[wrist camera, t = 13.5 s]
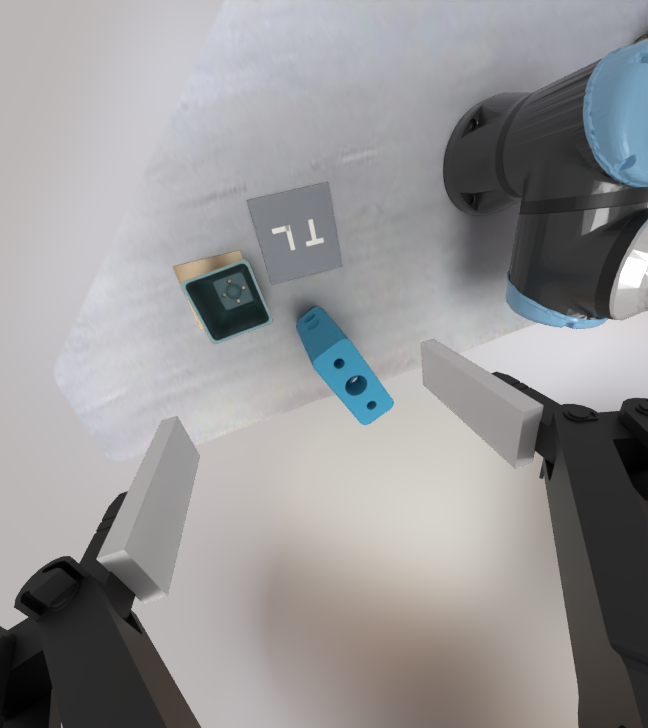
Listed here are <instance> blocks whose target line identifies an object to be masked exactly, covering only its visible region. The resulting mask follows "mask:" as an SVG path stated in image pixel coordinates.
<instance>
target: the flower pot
mask: <svg viewBox="0 0 648 728" xmlns="http://www.w3.org/2000/svg"><path fill="white" fill-rule="evenodd" d="M228 280H231V283H228ZM242 286H245V289H242ZM181 288H182V290H183V292H184V293H185V295H186V297H187V299H188V301H189V302H190V304H191V306H192V307H193V309H194V311H195V313H196V315H197V317H198V318H199V320H200V322H201V324H202V326H203V328H204V329H205V331H206V333H207V335H208V337H209V339H210V340H211V342H212V343H213V344H218V343H221V342H223V341H226V340H228V339H231V338H234V337H236V336H239V335H241V334H244V333H247V332H249V331H252V330H255V329H257V328H260V327H263V326H266V325H268V324H271V323H272V322H273V318H272V316H271V314H270V312H269V309H268V307H267V305H266V302H265V300H264V298H263V296H262V293H261V291H260V288H259V286H258V283H257V281H256V279H255V276H254V274H253V271H252V269H251V266H250V263H249V262H248V260H246V259H243V260H240V261H237V262H235V263H232V264H229V265H227V266H224V267H221V268H218V269H216V270H213V271H210V272H208V273H205V274H202V275H199V276H197V277H194V278H191V279H188V280H185V281H183V282H181ZM223 293H225V294H226V296H225V297H224V296H223ZM238 299H239V300H240V302H239V303H238V302H237V300H238Z"/></svg>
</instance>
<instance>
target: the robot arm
mask: <svg viewBox="0 0 648 728" xmlns="http://www.w3.org/2000/svg"><path fill="white" fill-rule="evenodd" d="M444 180H445V185H446V189H447V192H448V195H449V197H450V199H451V200H452V202H453V203H454V204H455V206H456V207H457V208H459V209H460V210H461V211H463V212H465V213H467V214H471V215H485V214H492V213H496V212H499V211H501V210H503V209H505V208H507V207H509V206H511V205H513V204H514V203H516V202H518V201H520V200H521V207H520V213H519V217H518V223H517V229H516V235H515V241H514V246H513V252H512V258H511V264H510V270H509V271H508V273H507V282H508V284H507V292H506V300H507V303H508V304H509V306H510V308H511V309H512V310H513V311H514V312H515V313H517V314H518V315H520V316H522V317H524V318H526V319H529V320H531V321H534V322H537V323H541V324H545V325H549V326H554V327H563V326H567V327H570V328H572V329H585V328H593V327H596V326H599V325H601V324H603V323H604V322H605V321H606V320H608V319H614V320H624V319H627V318H629V317H631V316H634V315H636V314H639V313H641V312H644V311H648V208H647V204H648V38H647V39H645V40H643V41H640V42H638V43H636V44H633V45H628V46H624V47H621V48H619V49H617V50H615V51H613V52H611V53H609V54H608V55H607V56H605V57H604V58H602V59H600V60H598V61H596V62H594V63H592V64H590V65H588V66H586V67H584V68H582V69H580V70H578V71H576V72H574V73H572V74H570V75H568V76H566V77H564V78H562V79H560V80H558V81H556V82H554V83H552V84H550V85H548V86H546V87H544V88H541V89H540V90H538V91H535V92H533V93H502V94H498V95H495V96H492V97H490V98H488V99H486V100H485V101H483V102H481V103H479V104H477V105H476V106H474V107H473V108H472V109H471V110H470V111H468V112H467V113H466V114H465V116H464V117H463V118H462V119H461V120H460V122H459V123H458V125H457V126H456V128H455V130H454V132H453V134H452V136H451V138H450V141H449V144H448V147H447V150H446V155H445V161H444ZM421 354H422V373H423V385H424V386H425V387H426V388H427V389H428V390H429V391H431V392H432V393H433V394H434V395H435V396H436V397H437V398H438V399H439V400H441V401H442V402H443V403H444V404H445V405H446V406H447V407H448V408H449V409H450V410H451V411H452V412H453V413H455V414H456V415H457V416H458V417H459V418H460V419H461V420H462V421H463V422H464V423H466V424H467V425H468V426H469V427H470V428H471V429H472V430H473V431H474V432H475V433H476V434H478V435H479V436H480V437H481V438H482V439H483V440H484V441H485V442H486V443H488V444H489V445H490V446H491V447H492V448H493V449H494V450H495V451H496V452H497V453H498V454H500V455H501V456H502V457H503V458H504V459H505V460H506V461H507V462H508V463H509V464H510V465H511V466H513V467H514V468H515V469H516V468H519V467H521V466H524V465H527V464H530V463H532V462H533V458H534V453H535V451H536V452H538V453H539V454H540V455H541V456H542V457H544V458H543V463H542V468H541V472H540V478H541V479H543V477H545V484H546V490H547V496H548V502H549V508H550V515H551V521H552V527H553V533H554V540H555V546H556V552H557V558H558V564H559V570H560V576H561V583H562V589H563V596H564V601H565V608H566V613H567V620H568V626H569V633H570V639H571V645H572V651H573V657H574V664H575V670H576V676H577V683H578V693H579V704H578V726H579V728H648V399H646V398H632V399H627V400H625V401H623V404H622V407H621V409H620V411H613V412H600V413H597V412H596V411H594V410H593V409H590V408H588V407H585V406H581V405H576V404H563V405H560V404H558V403H557V402H555V401H553V400H551V399H550V398H548V397H546V396H545V395H543V394H541V393H539V392H537V391H536V390H534V389H532V388H529V387H528V386H527V385H525V384H524V383H520V381H518V380H517V379H515V378H513V377H511V376H509V375H506V374H502V373H499V372H494V373H489V372H488V371H486V370H484V369H482V368H481V367H479V366H478V365H476V364H474V363H473V362H471V361H469V360H468V359H466V358H465V357H463V356H461V355H460V354H458V353H456V352H455V351H453V350H451V349H450V348H448V347H446V346H445V345H443V344H442V343H440V342H438V341H437V340H435V339H431V340H428V341H425V342H421ZM199 458H200V455H199V453H198V451H197V449H196V448H195V446H194V444H193V442H192V441H191V439H190V437H189V435H188V434H187V432H186V430H185V428H184V427H183V425H182V423H181V421H180V420H179V418H178V416H175V417H172V418H169V419H165V420H162V421H161V423H160V425H159V427H158V429H157V431H156V433H155V436H154V438H153V440H152V442H151V444H150V446H149V448H148V450H147V453H146V455H145V457H144V459H143V461H142V463H141V465H140V467H139V469H138V472H137V474H136V476H135V478H134V480H133V482H132V484H131V486H130V489H129V491H127V492H124V493H121V494H119V495H118V497H117V498H116V499H115V500H114V501H113V502H112V504H111V505H110V506H109V507H108V509H107V511H106V513H105V515H104V517H103V519H102V522H101V523H100V525H99V527H98V529H97V533H96V534H94V536H93V538H92V540H91V542H90V544H89V546H88V548H87V550H86V552H85V554H84V556H83V558H82V560H81V561H80V563H77V562H76V561H75V560H74V559H73V558H71V557H70V556H64V557H60V558H58V559H55V560H53V561H51V562H50V563H48V564H47V565H45V566H44V567H42V568H41V569H40V570H38V571H37V572H36V573H35V574H34V575H33V576H32V577H31V578H30V579H29V580H28V581H27V582H26V584H25V585H24V586H23V587H22V588H21V590H20V592H19V594H18V595H17V597H16V600H15V606H14V608H16V609H18V610H20V611H21V612H22V613H24V614H25V615H27V616H28V618H27V619H25V620H24V621H22V622H20V623H19V624H17V625H16V626H14V627H12V628H11V629H9V630H6V629H4V628H2V627H1V626H0V728H61V722H62V726H63V728H201V726H200V725H199V723H198V721H197V720H196V718H195V716H194V714H193V713H192V711H191V709H190V708H189V706H188V704H187V702H186V701H185V699H184V697H183V695H182V694H181V692H180V690H179V688H178V687H177V685H176V684H175V681H174V680H173V678H172V677H171V674H170V673H169V671H168V669H167V667H166V666H165V664H164V662H163V661H162V659H161V657H160V655H159V654H158V652H157V650H156V648H155V647H154V645H153V643H152V642H151V640H150V638H149V636H148V635H147V633H146V631H145V629H144V628H143V626H142V624H141V622H140V621H139V619H138V617H137V615H136V614H135V613H134V612H133V611H132V610H131V608H132V605H133V601H134V598H135V596H136V597H137V598H138V599H139V600H140V601H141V602H142V603H143V604H147V603H150V602H152V601H155V600H158V599H161V598H163V597H166V596H168V593H169V588H170V584H171V579H172V575H173V571H174V567H175V562H176V558H177V553H178V549H179V545H180V541H181V536H182V532H183V527H184V523H185V519H186V514H187V510H188V506H189V501H190V497H191V493H192V488H193V484H194V480H195V475H196V471H197V467H198V462H199Z"/></svg>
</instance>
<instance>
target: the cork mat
mask: <svg viewBox="0 0 648 728" xmlns="http://www.w3.org/2000/svg"><path fill="white" fill-rule="evenodd" d="M240 260H243V256H242V253H241V250H239V251H235V252H231V253H227V254H222V255H218V256H214V257H210V258H206V259H202V260H198V261H194V262H190V263H186V264H182V265H178V266H173V269H174V271H175V273H176V276H177V278H178V280H179V282H180V285H181V282H183V281H185V280H188V279H191V278H194V277H197V276H199V275H202V274H205V273H208V272H210V271H213V270H216V269H218V268H221V267H224V266H227V265H229V264H232V263H235V262H237V261H240ZM228 283H231V280H228ZM242 289H245V286H242ZM184 294H185V293H184ZM185 296H186V295H185ZM223 296H224V297H225V296H226V294H225V293H223ZM186 298H187V297H186ZM187 301H188V299H187ZM237 302H238V303H239V302H240V300H239V299H238V300H237ZM188 303H189V305H190V307H191V310H192V312H193V314H194V316H195V319H196V321H197V323H198V325H199V328H200V330H203V329H204V328H203V326H202V324H201V322H200V320H199V318H198V317H197V315H196V313H195V311H194V309H193V307H192V306H191V304H190V302H189V301H188Z"/></svg>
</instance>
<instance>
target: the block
mask: <svg viewBox="0 0 648 728" xmlns="http://www.w3.org/2000/svg"><path fill="white" fill-rule="evenodd" d="M296 328H297V331H298V333H299V335H300V338H301V340H302V342H303V345H304V347H305V349H306V351H307V354H308V356H309V358H310V360H311V363H312V365H313V367H314V369H315V370H316V371H317V373H318V374H319V375H320V376H321V377H322V379H323V380H324V381H325V382H326V383H327V384H328V386H329V387H330V388H331V389H332V390H333V391H334V393H335V394H336V395H337V396H338V397H339V398H340V400H341V401H342V402H343V403H344V404H345V405H346V407H347V408H348V409H349V410H350V411H351V412H352V414H353V415H354V416H355V417H356V418H357V420H358V421H359V422H360V423H361V424H363V425H367V424H370V423H371V422H373V421H374V420H376V419H377V418H378V417H380V416H381V415H382V414H384V413H385V412H387V411H388V410H390V409H391V408H392V406H393V404H394V402H393V399H392V398H391V397H390V395H389V394H388V393H387V391H386V390H385V388H384V387H383V385H382V384H381V383H380V381H379V380H378V378H377V377H376V376H375V374H374V373H373V371H372V370H371V369H370V367H369V366H368V364H367V363H366V362H365V360H364V359H363V357H362V356H361V355H360V353H359V352H358V350H357V349H356V348H355V346H354V345H353V343H352V342H351V341H350V340H349V339H348V337H347V336H346V335H345V334H344V333H343V332H342V331H341V329H340V328H339V327H338V326H337V325H336V324H335V323H334V321H333V320H332V319H331V318H330V317H329V316H328V315H327V313H326V312H325V311H324V310H323V309H322V308H320V307H314V308H312V309H311V310H310V311H308V312H307V313H306V314H304V315H303V316H302V317H301V318H299V319H298V321H297V325H296ZM356 377H358V378H357V380H356V381H355V382H353V383H352V381H353V379H354V378H356Z"/></svg>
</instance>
